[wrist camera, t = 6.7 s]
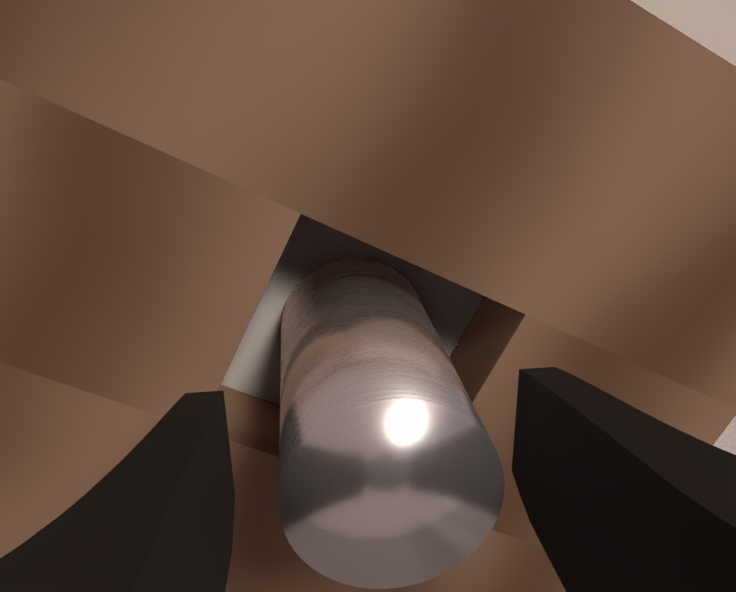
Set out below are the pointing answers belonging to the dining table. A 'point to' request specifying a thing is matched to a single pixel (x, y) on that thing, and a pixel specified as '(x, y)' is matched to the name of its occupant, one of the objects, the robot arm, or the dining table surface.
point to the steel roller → (377, 434)
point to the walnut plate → (351, 224)
